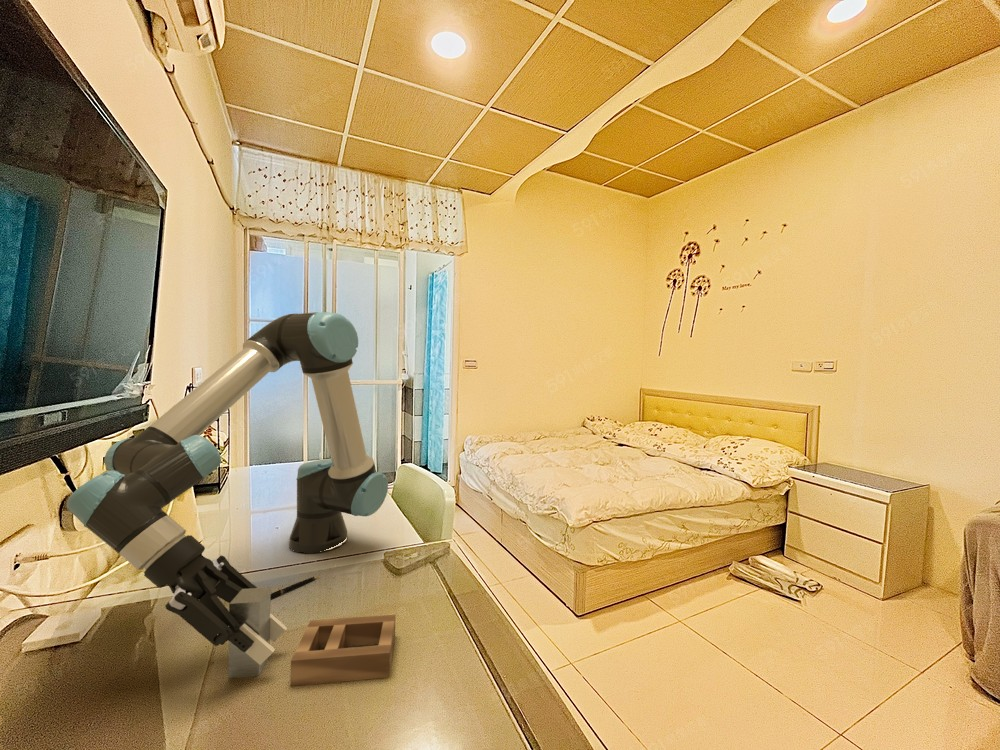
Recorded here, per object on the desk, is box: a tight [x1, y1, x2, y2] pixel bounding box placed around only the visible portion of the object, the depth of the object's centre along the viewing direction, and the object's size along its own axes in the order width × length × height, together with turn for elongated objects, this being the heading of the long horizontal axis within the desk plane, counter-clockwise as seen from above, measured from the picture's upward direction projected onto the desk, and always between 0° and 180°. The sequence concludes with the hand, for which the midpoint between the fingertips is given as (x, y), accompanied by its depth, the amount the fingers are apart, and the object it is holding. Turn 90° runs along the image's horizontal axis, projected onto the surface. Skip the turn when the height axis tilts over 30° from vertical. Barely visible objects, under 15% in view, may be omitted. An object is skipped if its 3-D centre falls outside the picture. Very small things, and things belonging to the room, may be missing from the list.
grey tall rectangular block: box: [227, 586, 272, 679], centre depth 69 cm, size 4×4×12 cm
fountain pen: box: [270, 575, 320, 601], centre depth 93 cm, size 14×1×2 cm, turn 145°
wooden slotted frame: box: [289, 614, 396, 687], centre depth 71 cm, size 10×15×4 cm
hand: (274, 645), depth 70 cm, fingers open, 5 cm apart
